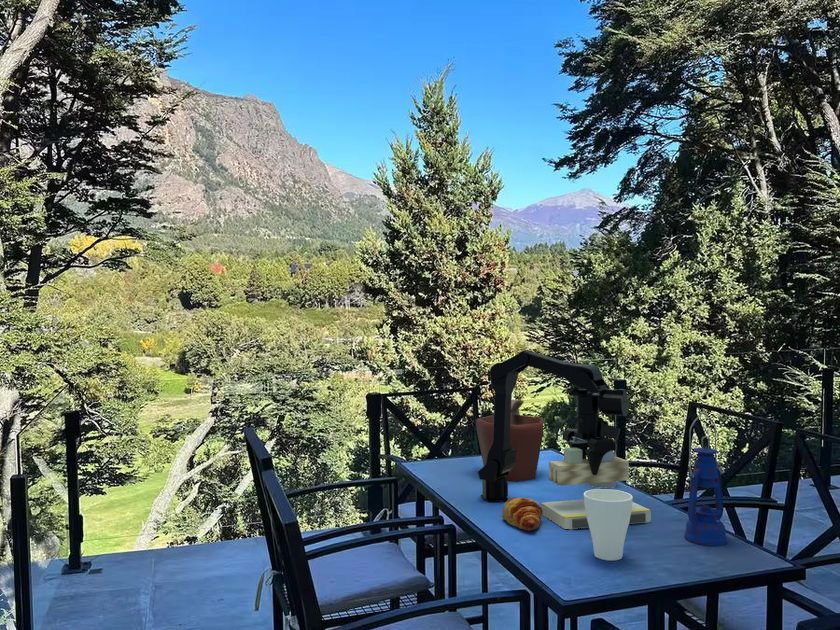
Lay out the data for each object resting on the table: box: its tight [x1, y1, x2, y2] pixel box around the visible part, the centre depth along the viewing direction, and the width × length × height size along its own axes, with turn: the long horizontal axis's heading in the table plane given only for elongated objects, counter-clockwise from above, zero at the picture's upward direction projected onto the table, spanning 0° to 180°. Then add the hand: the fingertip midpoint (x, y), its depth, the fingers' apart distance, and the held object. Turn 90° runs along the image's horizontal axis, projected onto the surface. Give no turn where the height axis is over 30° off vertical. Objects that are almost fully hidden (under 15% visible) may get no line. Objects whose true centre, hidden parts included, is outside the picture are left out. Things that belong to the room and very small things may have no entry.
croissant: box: [501, 497, 543, 532], centre depth 175 cm, size 21×10×8 cm, turn 7°
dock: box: [540, 498, 652, 530], centre depth 177 cm, size 24×15×3 cm, turn 104°
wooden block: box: [548, 456, 630, 486], centre depth 179 cm, size 20×6×5 cm, turn 105°
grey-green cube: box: [563, 447, 582, 464], centre depth 177 cm, size 4×4×4 cm
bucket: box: [475, 399, 544, 483], centre depth 224 cm, size 24×22×25 cm
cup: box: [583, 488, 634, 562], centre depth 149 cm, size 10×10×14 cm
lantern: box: [683, 411, 729, 547], centre depth 160 cm, size 11×9×30 cm
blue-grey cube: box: [601, 451, 615, 462], centre depth 180 cm, size 4×4×4 cm
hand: (588, 472), depth 179 cm, fingers closed on wooden block, 6 cm apart
